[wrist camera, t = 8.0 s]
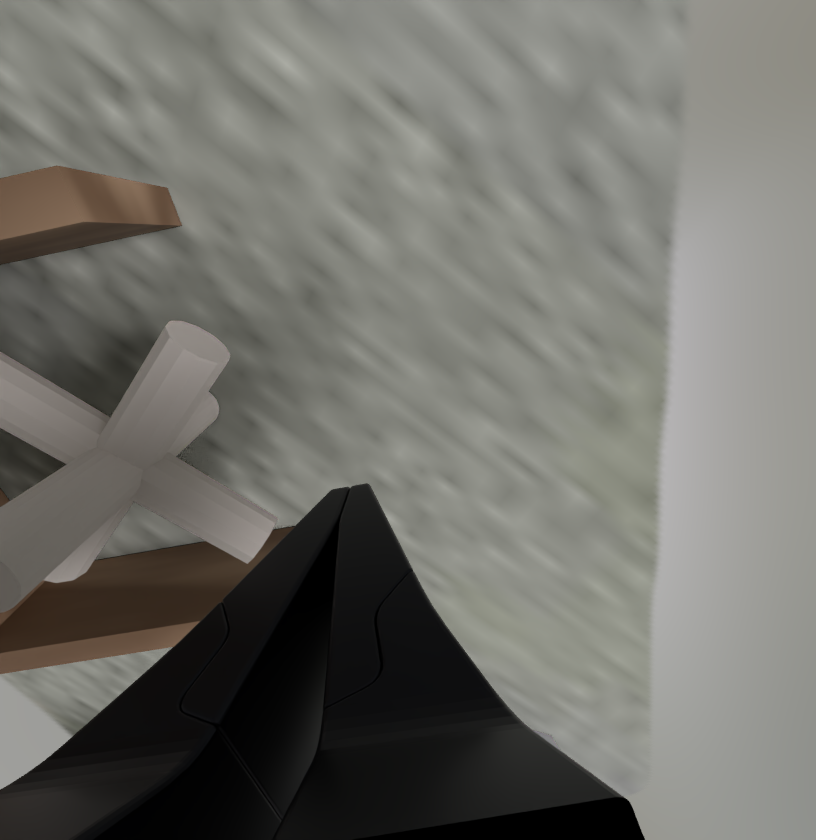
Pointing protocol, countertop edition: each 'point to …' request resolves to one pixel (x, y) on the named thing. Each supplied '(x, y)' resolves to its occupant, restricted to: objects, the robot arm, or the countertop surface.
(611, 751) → the countertop surface
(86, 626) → the walnut bay
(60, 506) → the pipe connector
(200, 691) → the robot arm
